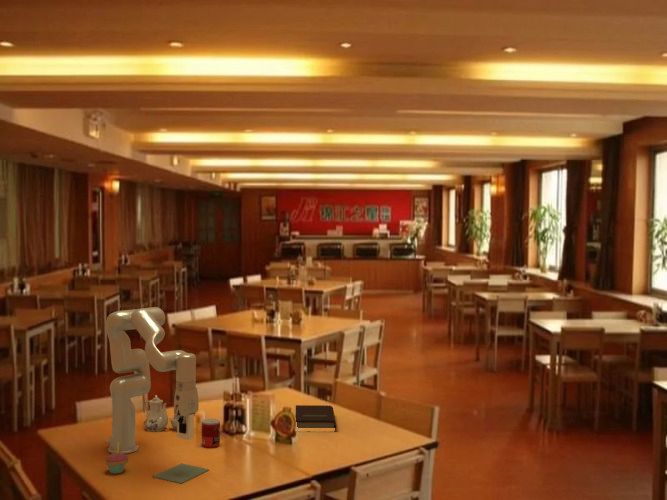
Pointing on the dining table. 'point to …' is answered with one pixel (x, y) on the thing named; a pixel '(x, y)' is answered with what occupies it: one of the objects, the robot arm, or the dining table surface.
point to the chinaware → (157, 416)
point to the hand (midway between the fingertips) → (185, 431)
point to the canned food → (210, 433)
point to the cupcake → (116, 461)
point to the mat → (181, 473)
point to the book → (315, 416)
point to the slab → (187, 428)
